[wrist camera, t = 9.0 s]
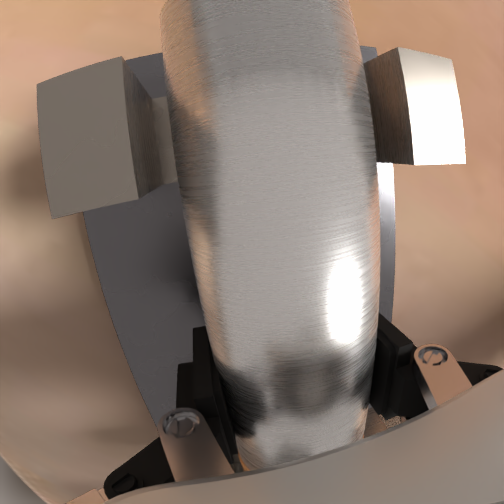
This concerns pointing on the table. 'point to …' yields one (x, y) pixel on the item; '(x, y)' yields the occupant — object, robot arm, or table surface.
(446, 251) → the table surface
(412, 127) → the plate with corner blocks
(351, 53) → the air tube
